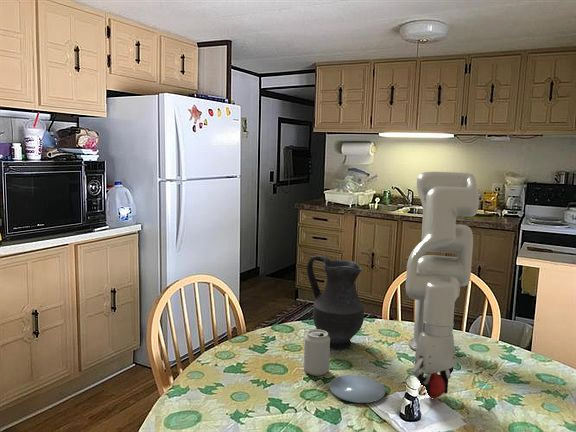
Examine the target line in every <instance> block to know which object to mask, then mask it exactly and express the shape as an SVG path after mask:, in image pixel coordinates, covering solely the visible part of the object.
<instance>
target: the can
mask: <svg viewBox="0 0 576 432" xmlns="http://www.w3.org/2000/svg"><path fill="white" fill-rule="evenodd" d="M303 348H304V349H303V352H304V353H303V354H304V355H303V370H304V371H305V372H306V373H307V374H309V375H311V376H314V377H315V376H316V377H320V376H324V375H326V374H327V373H329V370H330V352H331V351H330V350H331V349H330V337H329V336H328V333H327V332H326V331H324V330H319V329H316V328H315V329H309V330H308V331H306V335H305V336H304V347H303Z"/></svg>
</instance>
